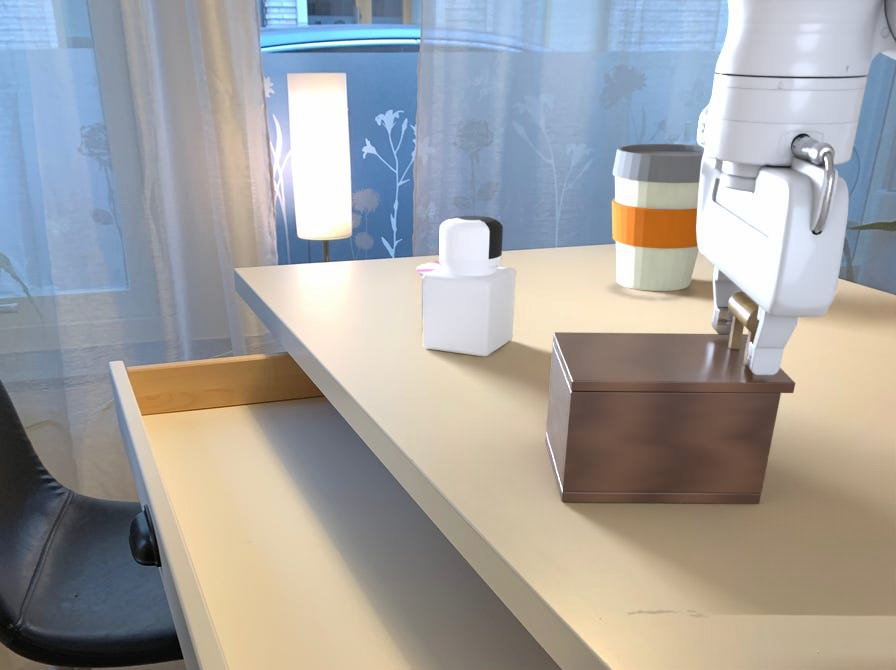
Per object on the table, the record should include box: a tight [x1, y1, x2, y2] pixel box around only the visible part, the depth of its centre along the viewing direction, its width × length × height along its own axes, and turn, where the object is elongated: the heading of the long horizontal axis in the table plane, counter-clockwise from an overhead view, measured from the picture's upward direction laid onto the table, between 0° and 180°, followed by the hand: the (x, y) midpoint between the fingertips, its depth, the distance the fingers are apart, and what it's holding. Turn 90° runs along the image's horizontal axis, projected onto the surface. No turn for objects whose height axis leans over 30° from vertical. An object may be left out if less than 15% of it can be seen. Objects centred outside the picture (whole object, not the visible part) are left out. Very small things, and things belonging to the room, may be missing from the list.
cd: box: [416, 260, 442, 276], centre depth 132 cm, size 11×11×1 cm
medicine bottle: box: [421, 214, 517, 357], centre depth 100 cm, size 7×7×12 cm
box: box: [545, 342, 782, 505], centre depth 73 cm, size 14×12×8 cm
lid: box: [552, 291, 796, 394], centre depth 70 cm, size 14×12×4 cm
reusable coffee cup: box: [611, 143, 705, 292], centre depth 123 cm, size 13×13×15 cm
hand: (742, 351), depth 70 cm, fingers open, 8 cm apart
